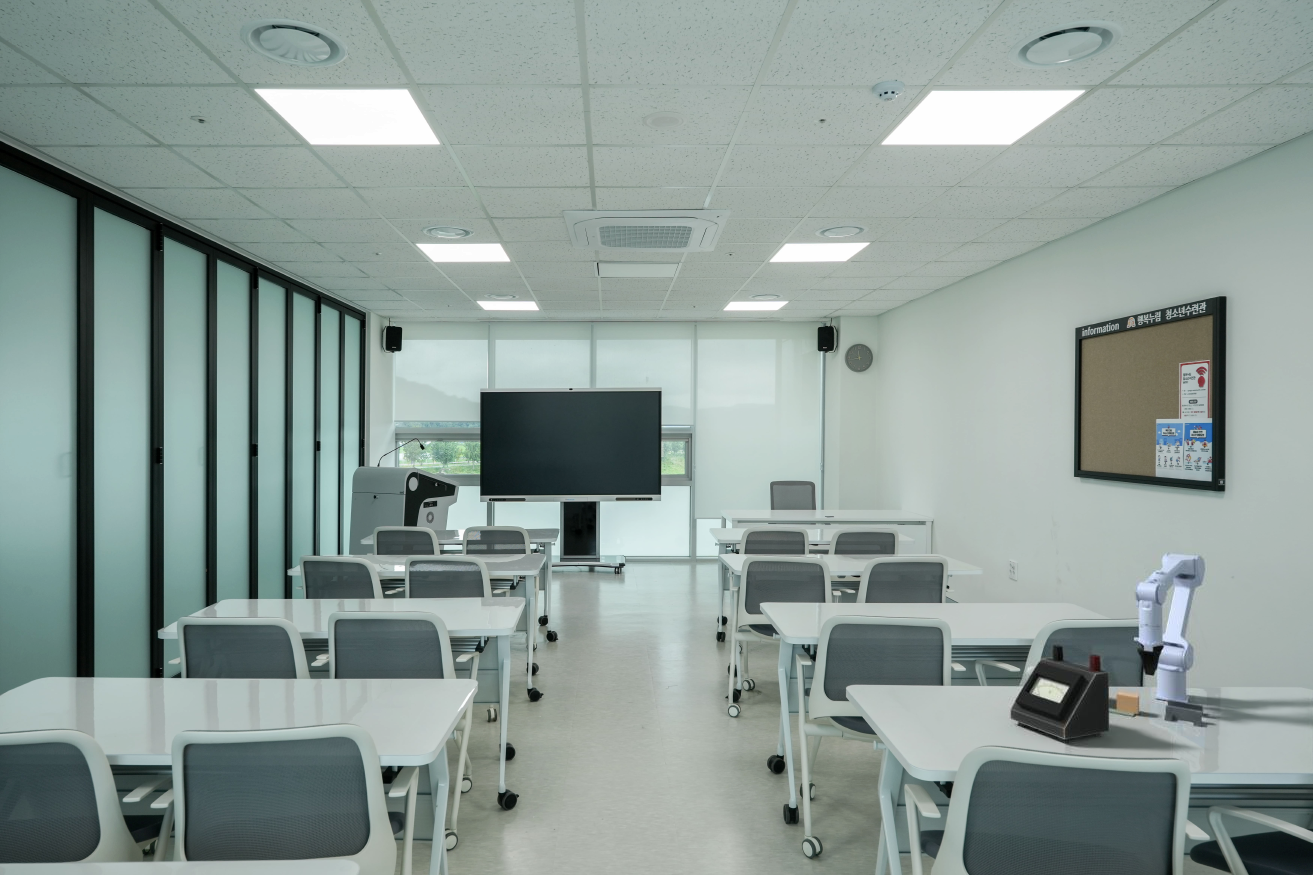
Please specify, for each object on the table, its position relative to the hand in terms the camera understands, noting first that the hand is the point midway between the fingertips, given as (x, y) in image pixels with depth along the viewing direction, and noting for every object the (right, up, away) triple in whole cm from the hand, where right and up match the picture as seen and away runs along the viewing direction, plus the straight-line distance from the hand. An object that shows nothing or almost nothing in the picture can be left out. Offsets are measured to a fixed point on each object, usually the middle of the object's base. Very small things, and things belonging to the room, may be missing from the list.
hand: (1150, 672), depth 217 cm
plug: (-13, -9, -3) cm, 16 cm away
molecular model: (-33, -9, -3) cm, 34 cm away
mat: (-12, -10, -4) cm, 16 cm away
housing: (+4, -10, -8) cm, 13 cm away
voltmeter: (-38, -9, -22) cm, 45 cm away
